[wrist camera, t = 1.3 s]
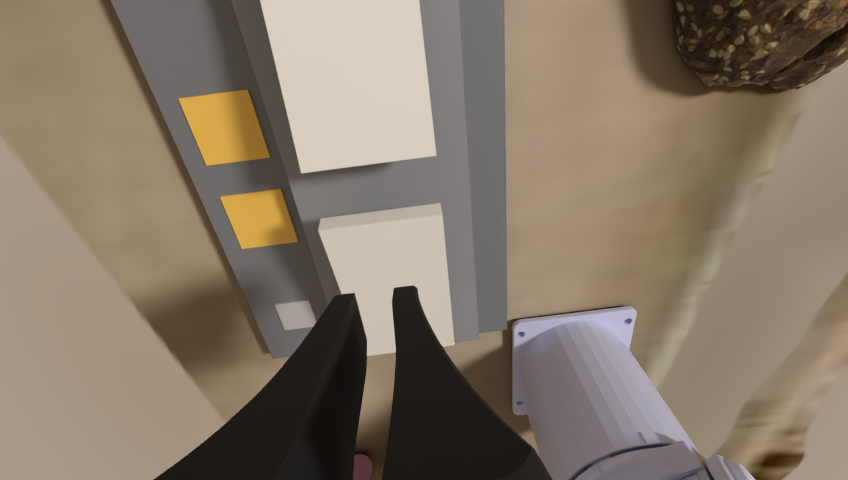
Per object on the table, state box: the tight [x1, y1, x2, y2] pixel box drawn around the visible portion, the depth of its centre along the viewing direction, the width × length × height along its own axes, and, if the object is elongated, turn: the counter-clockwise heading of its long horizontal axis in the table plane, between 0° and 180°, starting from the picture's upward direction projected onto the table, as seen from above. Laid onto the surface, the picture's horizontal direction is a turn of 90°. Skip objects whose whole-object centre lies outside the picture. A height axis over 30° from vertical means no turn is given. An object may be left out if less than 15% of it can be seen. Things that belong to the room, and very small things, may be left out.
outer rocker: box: [260, 0, 436, 173], centre depth 13 cm, size 9×5×1 cm, turn 6°
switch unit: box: [111, 0, 507, 359], centre depth 18 cm, size 24×15×2 cm, turn 7°
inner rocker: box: [318, 203, 455, 356], centre depth 19 cm, size 9×5×1 cm, turn 7°
